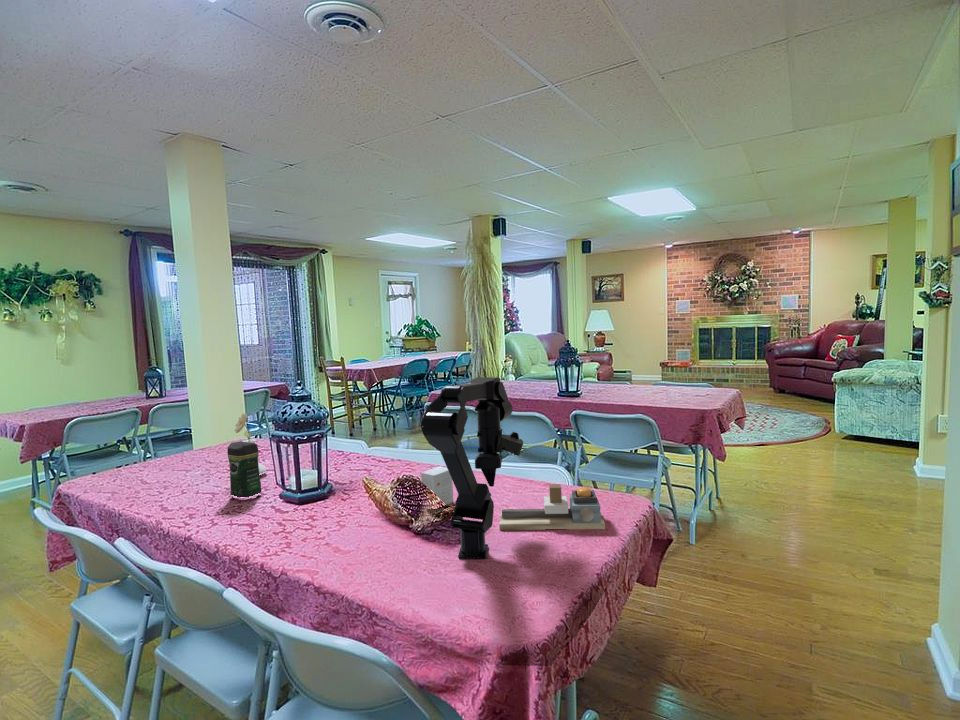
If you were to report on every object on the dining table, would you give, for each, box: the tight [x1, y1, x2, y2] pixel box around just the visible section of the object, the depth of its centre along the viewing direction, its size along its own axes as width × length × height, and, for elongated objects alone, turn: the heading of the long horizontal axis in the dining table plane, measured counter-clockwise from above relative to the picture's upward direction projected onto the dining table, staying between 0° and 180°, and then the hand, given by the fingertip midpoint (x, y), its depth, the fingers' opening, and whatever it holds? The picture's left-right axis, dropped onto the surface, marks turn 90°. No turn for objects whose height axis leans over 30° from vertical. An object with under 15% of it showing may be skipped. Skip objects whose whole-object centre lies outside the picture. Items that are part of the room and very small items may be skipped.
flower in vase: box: [234, 412, 268, 474], centre depth 188 cm, size 13×11×25 cm
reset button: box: [576, 487, 592, 497], centre depth 132 cm, size 4×4×2 cm
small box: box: [420, 465, 454, 505], centre depth 150 cm, size 8×6×10 cm
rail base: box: [499, 489, 606, 531], centre depth 134 cm, size 10×27×8 cm, turn 85°
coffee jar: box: [227, 440, 262, 497], centre depth 165 cm, size 10×8×19 cm
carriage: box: [543, 483, 569, 514], centre depth 133 cm, size 7×6×6 cm
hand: (491, 486), depth 128 cm, fingers closed
